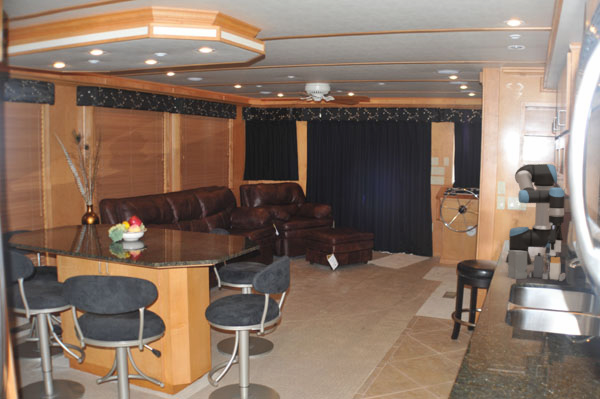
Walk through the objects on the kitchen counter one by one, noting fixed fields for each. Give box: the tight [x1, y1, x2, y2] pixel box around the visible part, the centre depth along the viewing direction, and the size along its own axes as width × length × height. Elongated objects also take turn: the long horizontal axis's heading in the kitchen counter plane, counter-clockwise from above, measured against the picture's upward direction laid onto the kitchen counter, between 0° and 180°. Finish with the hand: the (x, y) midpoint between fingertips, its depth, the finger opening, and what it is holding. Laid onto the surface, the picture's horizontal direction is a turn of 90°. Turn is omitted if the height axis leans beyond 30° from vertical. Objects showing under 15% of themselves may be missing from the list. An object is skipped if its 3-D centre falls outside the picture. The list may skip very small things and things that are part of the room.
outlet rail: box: [528, 269, 566, 282], centre depth 298 cm, size 9×17×4 cm, turn 53°
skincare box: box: [507, 249, 528, 280], centre depth 299 cm, size 8×7×16 cm
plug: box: [549, 253, 562, 281], centre depth 295 cm, size 4×4×14 cm
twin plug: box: [533, 252, 545, 279], centre depth 300 cm, size 4×4×14 cm
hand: (555, 253), depth 295 cm, fingers open, 13 cm apart
